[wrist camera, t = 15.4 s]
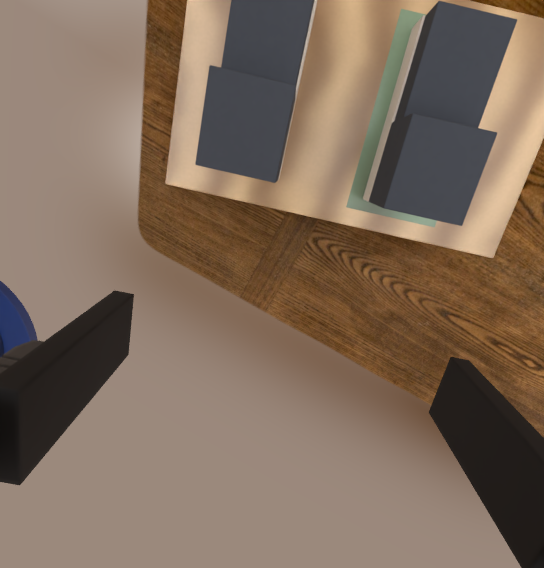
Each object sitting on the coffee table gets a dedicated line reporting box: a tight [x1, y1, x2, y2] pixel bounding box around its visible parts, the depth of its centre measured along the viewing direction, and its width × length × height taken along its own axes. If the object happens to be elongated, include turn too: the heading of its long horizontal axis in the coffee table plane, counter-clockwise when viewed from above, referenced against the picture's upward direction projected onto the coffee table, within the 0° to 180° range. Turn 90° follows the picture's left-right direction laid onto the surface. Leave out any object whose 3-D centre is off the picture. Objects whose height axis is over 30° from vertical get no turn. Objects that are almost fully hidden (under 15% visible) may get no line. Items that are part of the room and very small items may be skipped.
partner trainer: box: [195, 0, 317, 183], centre depth 26 cm, size 13×6×8 cm, turn 168°
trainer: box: [363, 1, 517, 226], centre depth 26 cm, size 13×6×8 cm, turn 168°
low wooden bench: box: [165, 0, 544, 258], centre depth 34 cm, size 30×18×10 cm, turn 78°
